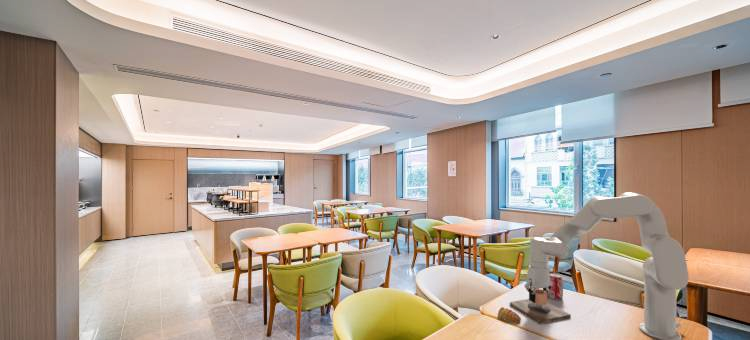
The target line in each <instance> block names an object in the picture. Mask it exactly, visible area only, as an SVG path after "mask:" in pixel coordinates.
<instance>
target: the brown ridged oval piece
mask: <svg viewBox="0 0 750 340" xmlns="http://www.w3.org/2000/svg"><path fill="white" fill-rule="evenodd" d="M497 312H498V313H497V316H498V317H499V318H500V319H502V320H504V321H506V322H511V323H515V324H519V323H520V322H521V321H522V317H521V316H520V315H519V314H517V313H516V312H515V311H513V310H512V309H509V308H505V307H504V306H502V307H500V308H499V310H498V311H497Z"/></svg>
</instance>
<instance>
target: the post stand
mask: <svg viewBox="0 0 750 340" xmlns="http://www.w3.org/2000/svg"><path fill="white" fill-rule="evenodd" d="M509 306H510V307H512V308H514V309H516V310H517V311H519V312H520V313H522V315H525V316H526V317H528V318H529V319H531V320H532V321H534V322H535V323H537V324H538V325H541V324H547V323H552V322H556V321H561V320H567V319H570V318H571V316H572V315H571V314H570V313H569V312H567V311H565V310H564V309H561V308H559V307H557V306H556V305H554V304H552V303H550V302H548V301H547V305H537V304H534V303H533V302H531V301H530V300H529V298H527V299H521V300H520V299H519V300H515V301H510V302H509Z"/></svg>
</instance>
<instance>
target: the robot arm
mask: <svg viewBox="0 0 750 340" xmlns="http://www.w3.org/2000/svg"><path fill="white" fill-rule="evenodd" d="M633 217H635V219H636V221H637V225H638V228H639V235H640V241H641V247H642V248H643V250H644V251H645V252H646V253H648V254H650V255H651V256H650V257H648V258H646V259H645V260H644V261H643V264H642V274H643V285H644V286H643V287H644V289H643V290H644V293H643V298H644V299H643V300H644V301H643V322H640V323H639V324H638V327H639V330H640V331H641V332H643V334H646V335H648V336H650V337H652V338H655V339H657V340H682V335H681V333H679V332H678V331H677V328H678V329H679V328H681V327H682V324H681V323H680V322H679V321H677V297H678V296H677V295H678V294H677V291H678V290H679V291H680V290H683V288H685V287H686V286H687V285H688V283H689V278H690V277H689V271H688V263H687V260H686V254H685V251H684V248H683V246H682V245H681V244H680V242H679V241H677V240H676V239H675V238H673V237H671V236H670V234H669V232H668V227H667V222H666V219H665V216H664V214H663V212H662V210H661V209H660V208H659V206H658V205H656V203H654V202H653V201H652V199H651V198H650V197H648V196H646V195H644V194H640V193H637V192H632V191H631V192H630V191H628V192H626V191H625V192H624V193H621V194H620V195H619V196H618V197H617V196H616V197H605V196H599V195H597V196H593V197H591V198H590V199H589V200H588V201H587V202H585V204H584V205H583V206H582V207H581V208H580V209H579V210H578V211H577V212H576V213H575V214H574V215H573V216H572V217H571V218H570V219H569V220H568V221H566V222H565V223H564V224H562V225H560V226H559V228H557V229H556V230H555V232H553V233H552V234H551V236H549V238H548V239H546V238H543V237H538V236H535V237H532V238H530V241H529V242H530V246H529V254H530V255H529V258H530V259H529V266H528V268H527V274H526V283H525V284H524V288H525V290H526V291H527V292H528V299H529V300H530V301H532V302H533V303H535V294H534V293H535V291H536V289H542V290H544V291H546V292H547V302H548V301H549V296H548V292H549V291H550V288H551V286H552V284H553V282H552V281H551V280H550V273H551V272H550V267H549V262H550V261H549V256H551V257H554V258H560V259H561V258H565V257H567V256H568V254H569V247H568V244H570V242H572V241H573V239H574V238H575V239H576V238H577V237H578V236H581V235H585V234H587V233H589V232H591V231H592V229H594V228H595V226H596V225H598V224H599V223H600V222H601V221H602V220H603V219H617V218H618V219H619V218H620V219H621V218H633ZM532 288H533V290H532Z"/></svg>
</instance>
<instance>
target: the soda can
mask: <svg viewBox="0 0 750 340" xmlns="http://www.w3.org/2000/svg"><path fill="white" fill-rule="evenodd" d="M549 273H550V280H551V281H552V282H553V284H552V286H551V288H550V291H549V292H548V298H550V299H553V300H561V299H563V297H564V296H563V295H564V279H563V277H562V275H561V274H559V273H555V272H549Z"/></svg>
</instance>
